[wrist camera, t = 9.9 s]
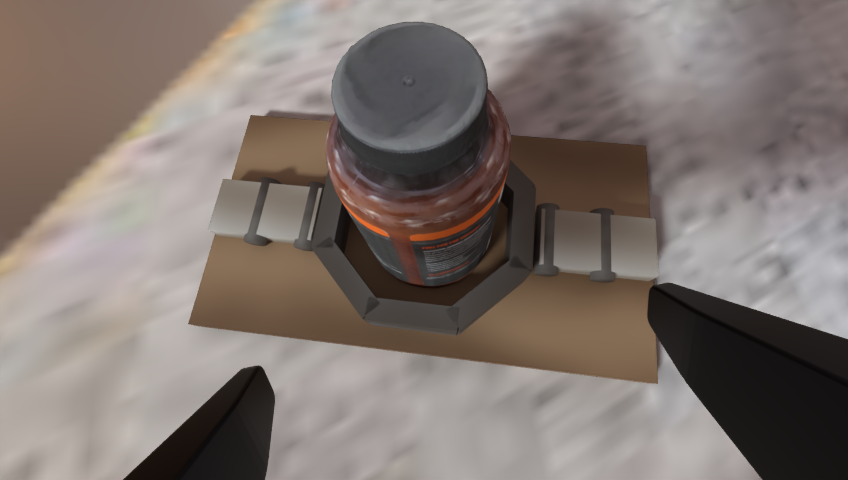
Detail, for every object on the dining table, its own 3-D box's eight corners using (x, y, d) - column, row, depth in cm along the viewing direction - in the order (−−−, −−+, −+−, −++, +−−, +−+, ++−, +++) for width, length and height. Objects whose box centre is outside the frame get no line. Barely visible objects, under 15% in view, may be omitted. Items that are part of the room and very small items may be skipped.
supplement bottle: (512, 221, 21) (580, 56, 10) (442, 316, 20) (435, 242, 9) (419, 160, 22) (391, -42, 12) (348, 245, 21) (242, 106, 10)
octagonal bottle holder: (649, 383, 19) (682, 384, 16) (197, 325, 21) (161, 318, 18) (639, 153, 23) (665, 123, 20) (256, 123, 25) (233, 92, 22)
